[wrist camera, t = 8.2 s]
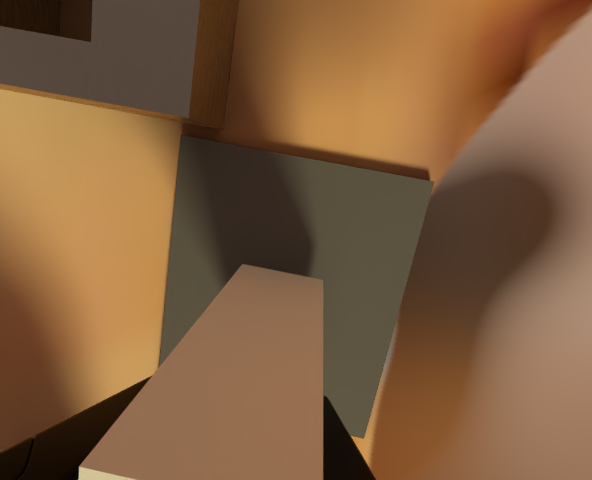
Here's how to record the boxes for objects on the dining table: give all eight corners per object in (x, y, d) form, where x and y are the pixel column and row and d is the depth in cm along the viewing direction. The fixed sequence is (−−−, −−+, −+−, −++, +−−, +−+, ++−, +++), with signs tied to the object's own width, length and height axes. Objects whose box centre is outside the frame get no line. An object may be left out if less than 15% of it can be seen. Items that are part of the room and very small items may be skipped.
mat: (362, 431, 16) (363, 438, 16) (160, 388, 16) (156, 394, 16) (430, 181, 13) (434, 181, 13) (185, 135, 14) (181, 134, 13)
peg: (308, 353, 14) (280, 686, 5) (231, 336, 14) (72, 636, 5) (323, 279, 13) (323, 521, 4) (242, 263, 13) (79, 466, 4)
